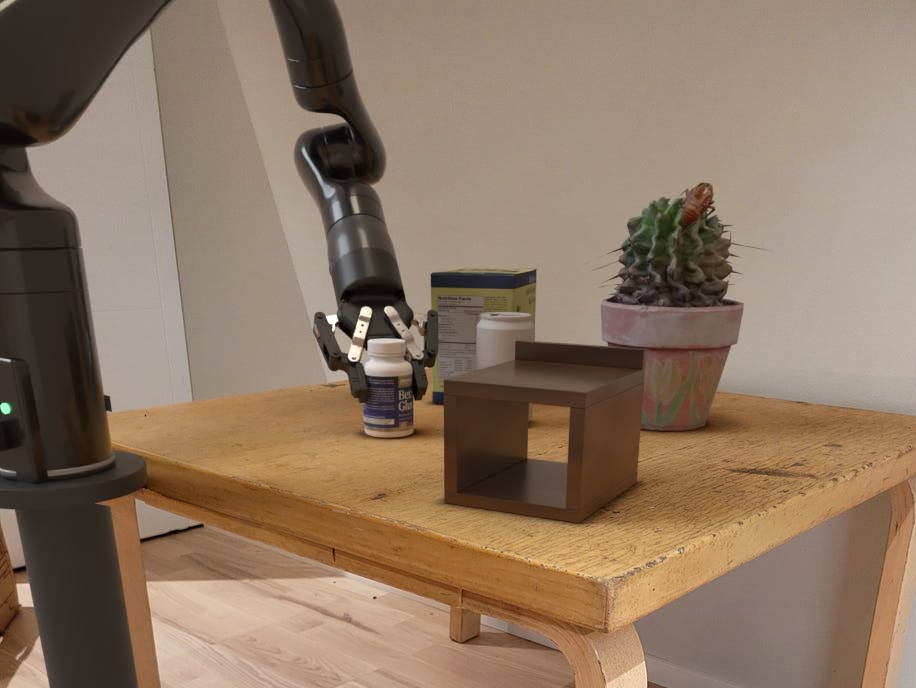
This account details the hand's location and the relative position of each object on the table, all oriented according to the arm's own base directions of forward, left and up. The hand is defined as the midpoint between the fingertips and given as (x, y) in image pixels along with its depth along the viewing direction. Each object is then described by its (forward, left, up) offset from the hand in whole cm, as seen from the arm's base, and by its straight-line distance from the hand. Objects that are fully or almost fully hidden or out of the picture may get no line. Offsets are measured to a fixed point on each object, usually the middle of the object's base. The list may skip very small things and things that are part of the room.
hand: (392, 396), depth 101 cm
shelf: (-13, -23, -4) cm, 27 cm away
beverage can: (+12, -7, -4) cm, 15 cm away
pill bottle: (+1, +1, -4) cm, 5 cm away
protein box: (+27, +3, -4) cm, 28 cm away
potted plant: (+22, -22, -4) cm, 32 cm away
